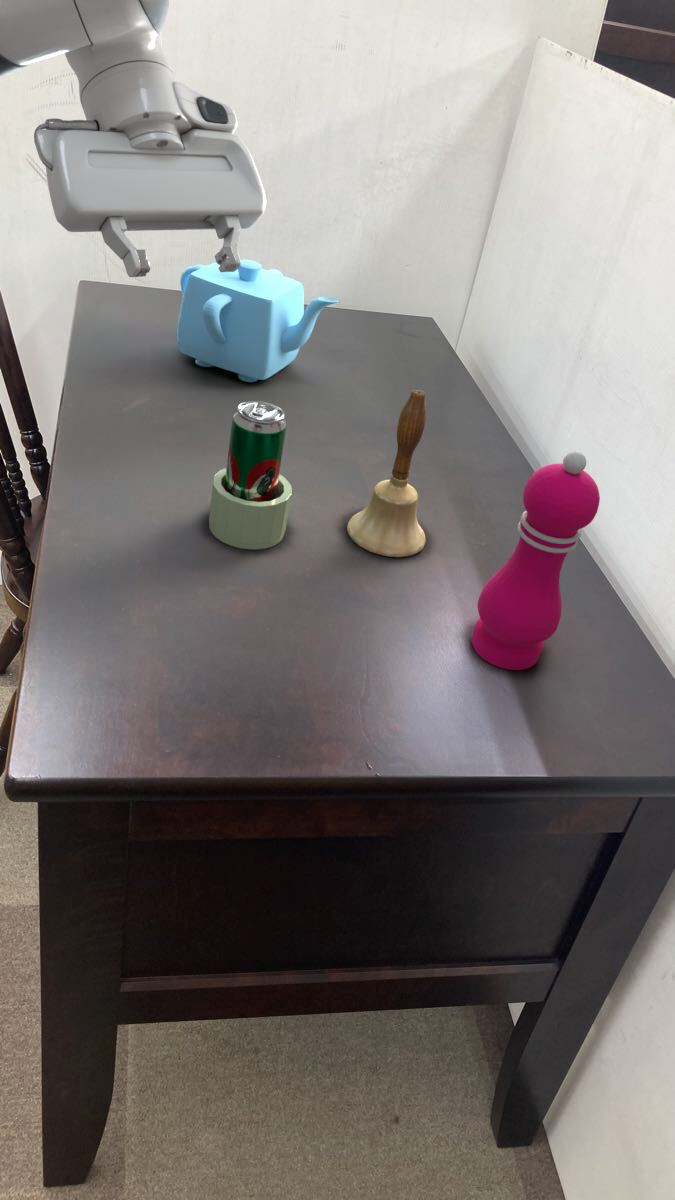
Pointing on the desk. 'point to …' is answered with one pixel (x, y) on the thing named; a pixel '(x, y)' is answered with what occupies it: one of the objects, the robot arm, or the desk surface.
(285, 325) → the teapot
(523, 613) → the pepper mill
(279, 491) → the socket
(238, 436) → the soda can
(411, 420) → the hand bell
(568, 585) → the desk surface
